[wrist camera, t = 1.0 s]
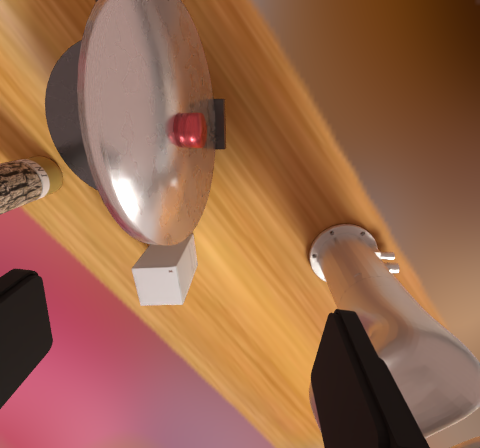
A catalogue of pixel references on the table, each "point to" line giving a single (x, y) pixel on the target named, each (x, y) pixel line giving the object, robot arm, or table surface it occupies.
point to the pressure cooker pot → (67, 115)
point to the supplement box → (165, 273)
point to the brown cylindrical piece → (27, 181)
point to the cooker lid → (147, 116)
